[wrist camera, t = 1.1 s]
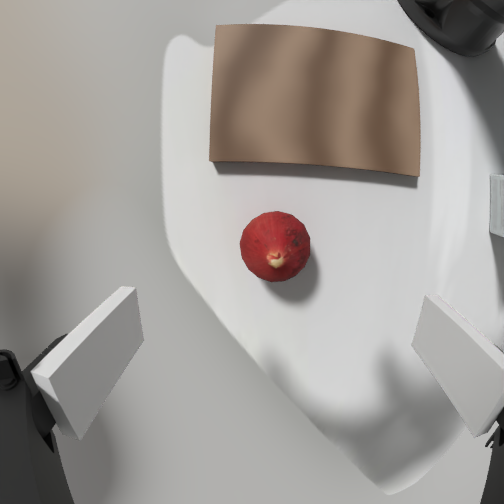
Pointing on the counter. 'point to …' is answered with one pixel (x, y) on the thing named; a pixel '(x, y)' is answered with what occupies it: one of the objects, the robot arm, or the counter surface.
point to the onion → (275, 246)
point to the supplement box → (497, 205)
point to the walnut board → (314, 99)
